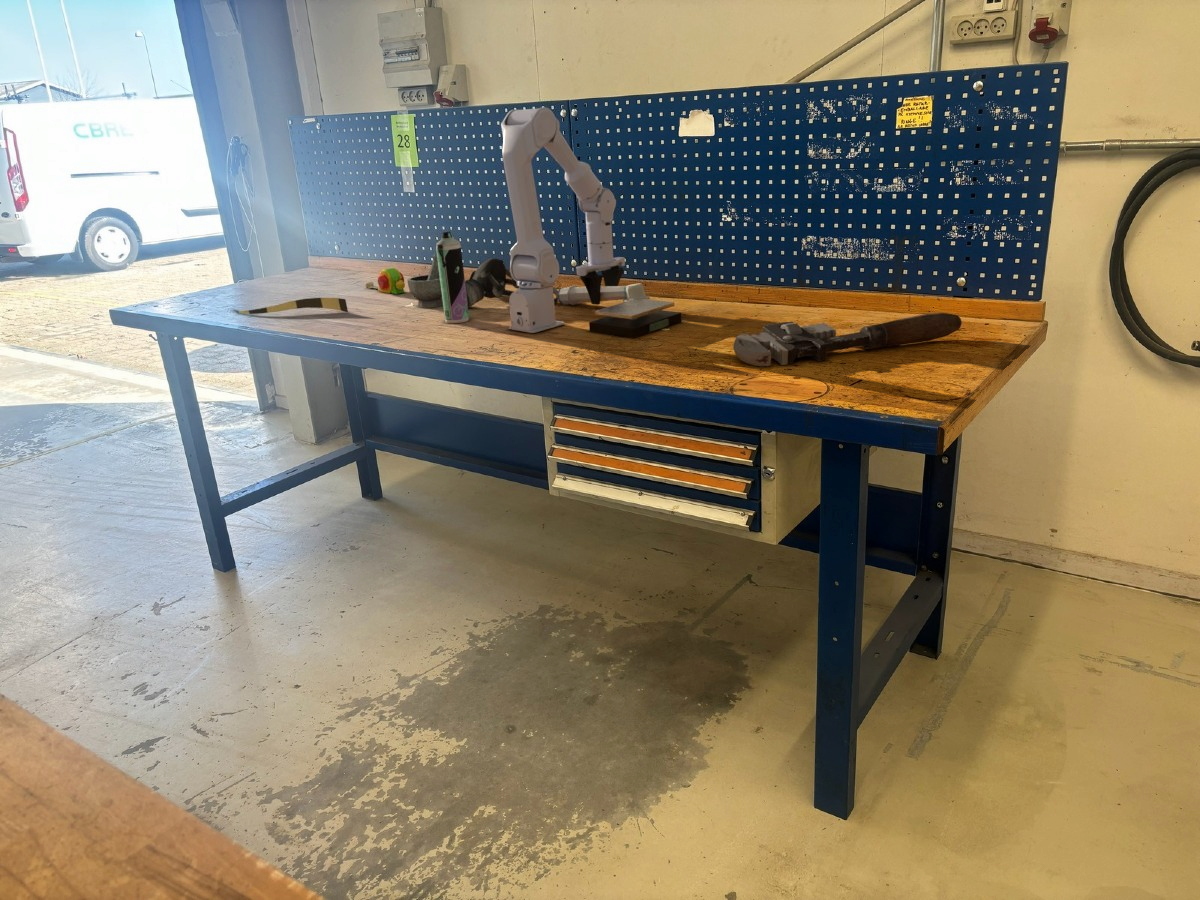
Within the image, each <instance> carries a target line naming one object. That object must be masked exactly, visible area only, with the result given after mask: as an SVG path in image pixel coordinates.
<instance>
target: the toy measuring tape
mask: <svg viewBox="0 0 1200 900" xmlns="http://www.w3.org/2000/svg"><path fill="white" fill-rule="evenodd" d="M364 285H365V287H366V289H369V288H371V289H376V290H377V291H378V292H381V293H384V294H392V295H393V294H394V295H399V294H404V293H405V290H404V288H405V286H406V283H405V277H404V275H403V273H402V272H400V271H399V270H398V269H397V268H395V267H388V268H384V269H382V270H380V271H379V274H378V277H377V285H378V286H375V284H374V282H373V281H370V282H369V281H368V282H365V284H364Z"/></svg>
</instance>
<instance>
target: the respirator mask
mask: <svg viewBox="0 0 1200 900" xmlns="http://www.w3.org/2000/svg"><path fill="white" fill-rule="evenodd" d="M507 277H509V278H507ZM507 285H512V287H514V288H515V289H518V288H519V286H517V282H516V281H515V280H514V279H513V278H512V276H511V273H510V269H508V268H506V266H505V262H504V260H503V259H500V258H496V257H492V258H489V259H487V260H485V261H483V262H482V263H481V264H480V265H479V266H478V267H477V268H476V270H474V271H472V273H471V274H470V276H469V279H465V286H466V295H467V303H468V309H469V308H471V307H472V306H474V305H475V304H477V303H479V302H480V301H483V299H484V298H487V299H494V298H500V297H503V296H507V297H510V295H511V294H512V293H513V292H514V291H513V290H508V289H506V286H507ZM558 291H559V289H557V288H556V287H554V286H553V294H554V295H555V297H554V305H555V304H557V303H558V302H559V301H558V298H557V293H558Z"/></svg>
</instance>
